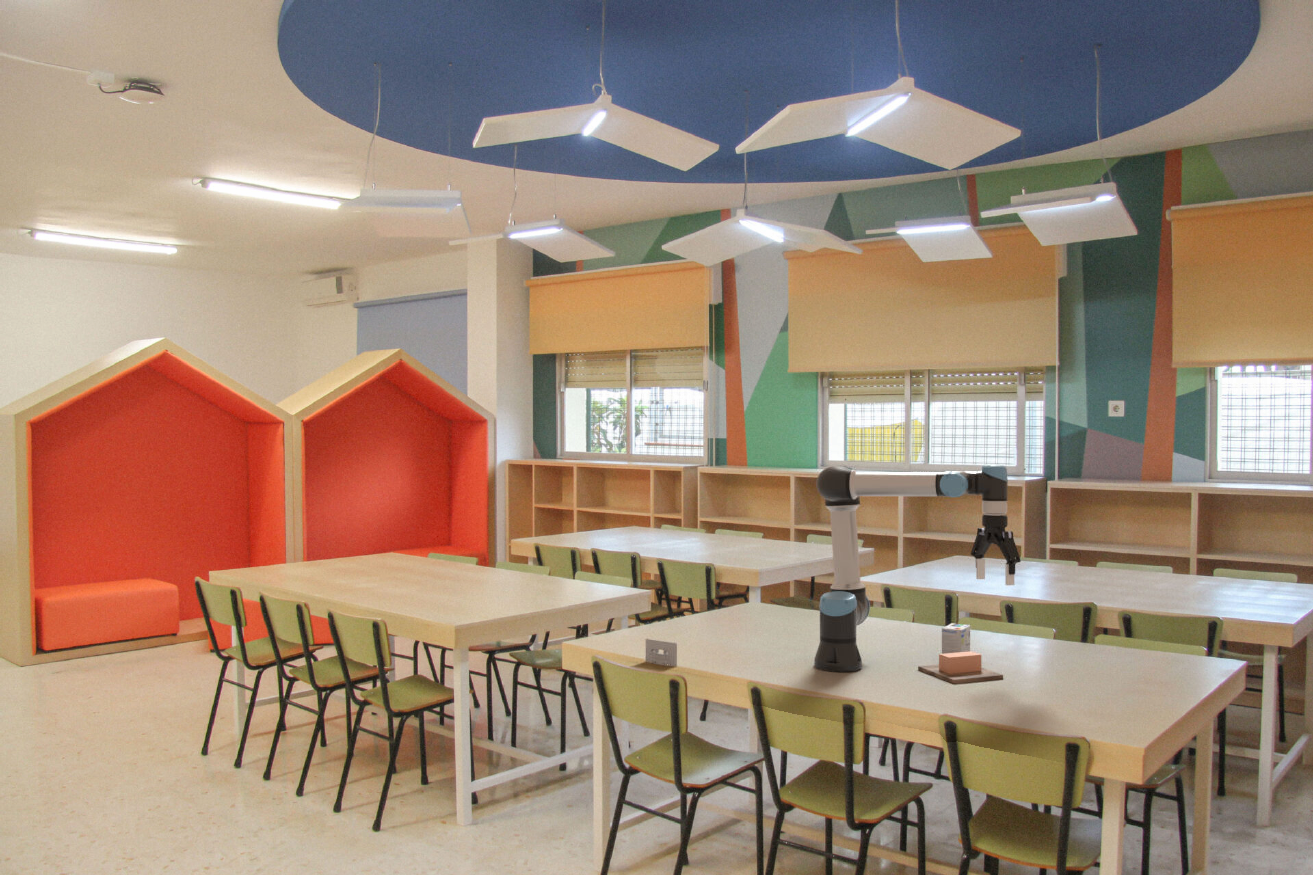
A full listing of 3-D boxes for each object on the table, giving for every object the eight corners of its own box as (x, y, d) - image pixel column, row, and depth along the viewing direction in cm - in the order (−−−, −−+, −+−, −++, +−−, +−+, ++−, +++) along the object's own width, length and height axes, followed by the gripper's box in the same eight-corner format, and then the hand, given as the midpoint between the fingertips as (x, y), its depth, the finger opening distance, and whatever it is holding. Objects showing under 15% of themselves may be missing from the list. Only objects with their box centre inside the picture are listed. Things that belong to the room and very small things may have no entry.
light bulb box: (951, 653, 314) (951, 622, 314) (971, 656, 310) (971, 624, 310) (941, 659, 305) (940, 627, 305) (961, 662, 301) (961, 629, 302)
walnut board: (918, 669, 291) (918, 666, 291) (965, 665, 297) (965, 661, 297) (953, 683, 274) (953, 679, 274) (1003, 678, 280) (1003, 674, 280)
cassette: (644, 662, 302) (644, 639, 302) (647, 661, 303) (647, 638, 303) (674, 667, 295) (674, 643, 295) (677, 666, 296) (677, 642, 296)
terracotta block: (971, 666, 290) (939, 669, 286) (970, 651, 290) (939, 653, 286) (981, 670, 285) (949, 673, 281) (981, 654, 285) (949, 657, 281)
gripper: (1032, 516, 276) (1033, 587, 276) (978, 511, 300) (978, 576, 300) (1012, 517, 274) (1012, 588, 274) (959, 511, 297) (959, 577, 297)
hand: (995, 582), depth 287 cm, fingers open, 13 cm apart
